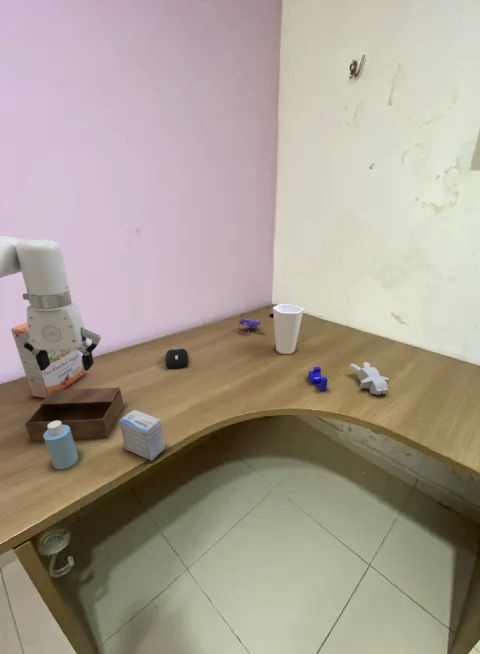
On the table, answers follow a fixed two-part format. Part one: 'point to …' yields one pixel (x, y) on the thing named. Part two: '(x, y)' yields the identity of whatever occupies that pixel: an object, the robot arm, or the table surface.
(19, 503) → the table surface
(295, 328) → the cup
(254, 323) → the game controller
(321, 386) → the cable holder
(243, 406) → the table surface
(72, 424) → the wooden box
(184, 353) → the computer mouse
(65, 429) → the bottle
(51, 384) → the cracker box
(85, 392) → the flap
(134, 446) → the medicine box
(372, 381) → the bunny figurine
